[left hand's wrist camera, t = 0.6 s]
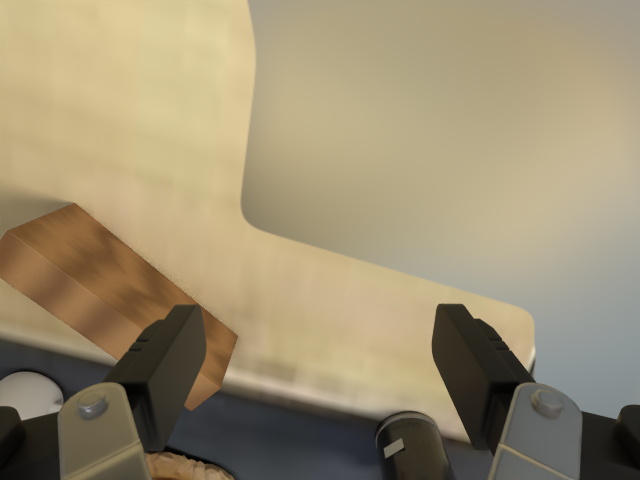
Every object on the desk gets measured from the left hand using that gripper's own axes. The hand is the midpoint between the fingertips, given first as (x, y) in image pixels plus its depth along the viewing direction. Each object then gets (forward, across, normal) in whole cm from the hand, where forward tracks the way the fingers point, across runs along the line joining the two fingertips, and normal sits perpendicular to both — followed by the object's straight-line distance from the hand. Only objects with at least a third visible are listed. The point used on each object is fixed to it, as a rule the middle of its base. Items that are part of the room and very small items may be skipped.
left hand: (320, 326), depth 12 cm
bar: (+26, -20, -13) cm, 36 cm away
